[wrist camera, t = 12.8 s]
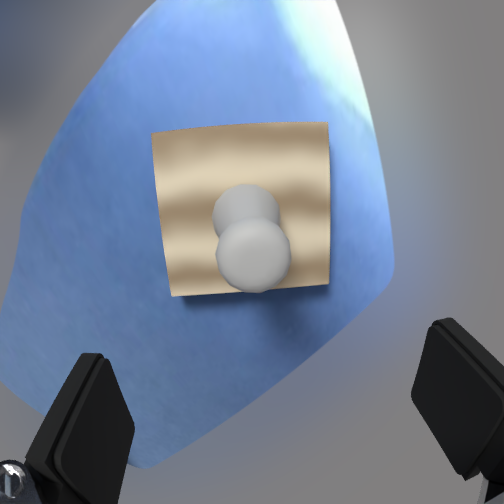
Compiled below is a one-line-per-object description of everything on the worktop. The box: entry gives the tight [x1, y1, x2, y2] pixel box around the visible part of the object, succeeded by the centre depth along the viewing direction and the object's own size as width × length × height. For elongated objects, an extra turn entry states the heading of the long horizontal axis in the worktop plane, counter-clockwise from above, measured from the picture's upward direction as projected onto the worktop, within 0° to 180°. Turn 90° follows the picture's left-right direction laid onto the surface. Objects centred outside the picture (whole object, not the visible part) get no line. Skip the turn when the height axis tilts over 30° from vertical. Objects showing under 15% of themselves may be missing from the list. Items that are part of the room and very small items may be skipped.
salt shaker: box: [212, 184, 291, 293], centre depth 23 cm, size 6×6×13 cm
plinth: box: [151, 122, 330, 296], centre depth 31 cm, size 16×16×3 cm
